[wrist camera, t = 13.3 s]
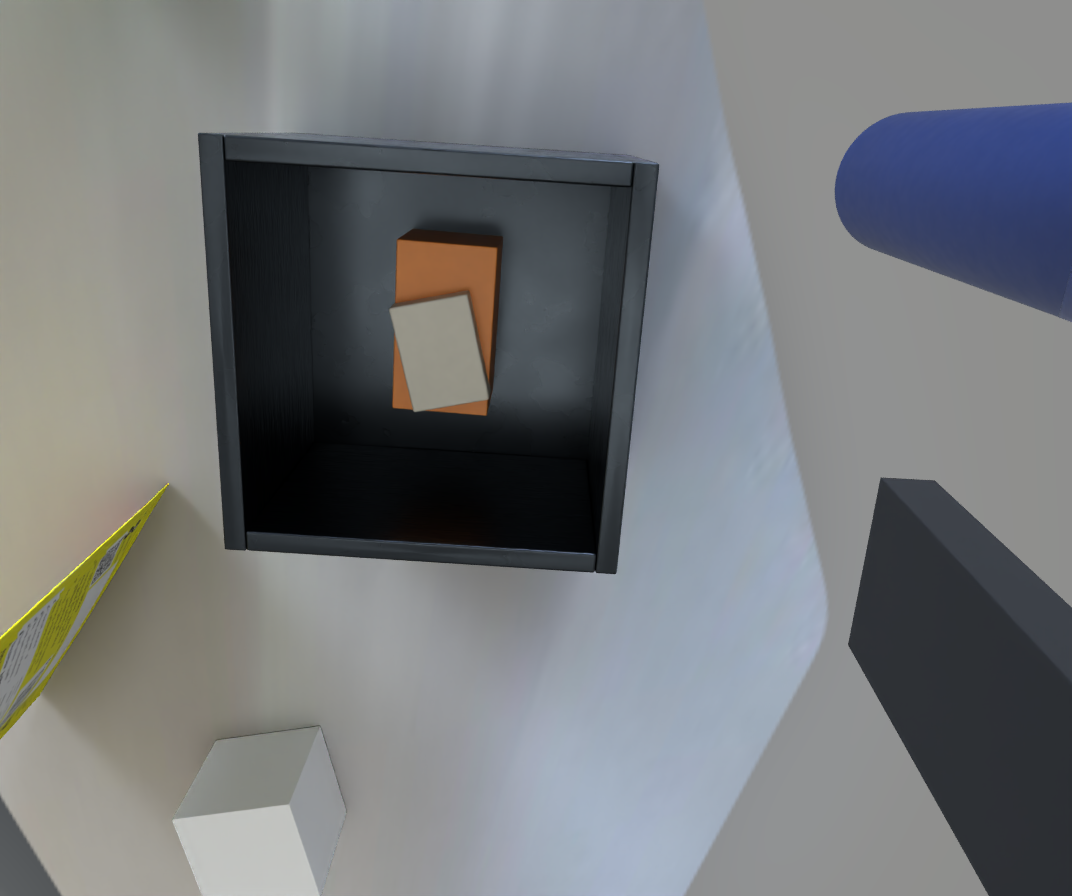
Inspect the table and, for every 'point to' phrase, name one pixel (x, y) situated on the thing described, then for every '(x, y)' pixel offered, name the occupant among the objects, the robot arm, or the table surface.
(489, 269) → the orange and grey block
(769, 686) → the table surface
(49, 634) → the food package
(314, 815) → the white cube
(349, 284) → the black open storage box
